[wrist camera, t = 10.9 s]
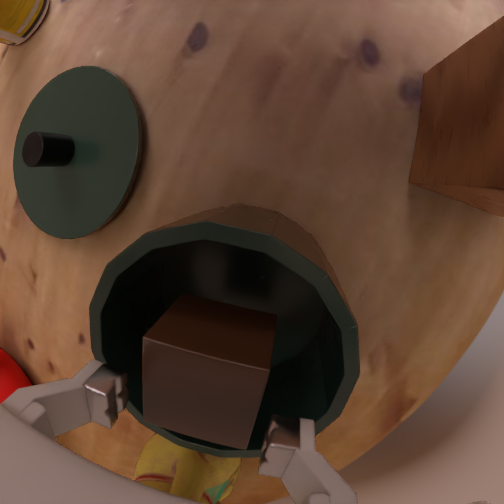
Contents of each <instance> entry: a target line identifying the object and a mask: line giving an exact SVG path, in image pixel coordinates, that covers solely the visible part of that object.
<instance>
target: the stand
mask: <svg viewBox="0 0 504 504" xmlns="http://www.w3.org/2000/svg"><path fill="white" fill-rule="evenodd" d="M409 183H411V184H414V185H417V186H420V187H423V188H426V189H429V190H432V191H434V192H437V193H440V194H443V195H446V196H448V197H451V198H454V199H456V200H459V201H462V202H464V203H467V204H469V205H472V206H474V207H477V208H479V209H482V210H484V211H487V212H489V213H491V214H494V215H497V216H501V217H504V16H503V17H501V18H500V19H498V20H497V21H496V22H494V23H493V24H491V25H490V26H489V27H487V28H486V29H484V30H483V31H481V32H480V33H479V34H477V35H476V36H475V37H473V38H472V39H470V40H469V41H468V42H466V43H465V44H463V45H462V46H461V47H459V48H458V49H457V50H455V51H454V52H453V53H451V54H450V55H449V56H447V57H446V58H444V59H443V60H442V61H440V62H439V63H438V64H436V65H435V66H434V67H432V68H431V69H430V70H428V71H427V72H426V73H425V74H424V76H423V89H422V99H421V108H420V117H419V124H418V132H417V138H416V145H415V151H414V157H413V163H412V168H411V173H410V179H409Z"/></svg>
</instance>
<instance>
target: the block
mask: <svg viewBox="0 0 504 504" xmlns="http://www.w3.org/2000/svg"><path fill="white" fill-rule="evenodd" d="M276 321H277V315H276V314H272V313H267V312H263V311H258V310H254V309H249V308H245V307H241V306H236V305H232V304H228V303H224V302H219V301H215V300H211V299H207V298H203V297H199V296H195V295H191V294H187V293H183V294H182V295H181V296H180V297H179V298H178V299H177V300H176V301H175V302H174V303H173V304H172V306H171V307H170V308H169V309H168V310H167V311H166V312H165V313H164V314H163V315H162V316H161V318H160V319H159V320H158V321H157V322H156V323H155V324H154V325H153V326H152V327H151V329H150V330H149V331H148V332H147V333H146V334H145V335H144V336H143V349H142V385H143V417H144V421H145V422H148V423H151V424H154V425H157V426H160V427H163V428H166V429H169V430H172V431H175V432H178V433H181V434H184V435H188V436H191V437H195V438H198V439H202V440H206V441H209V442H213V443H217V444H221V445H225V446H230V447H234V448H239V449H243V450H246V449H247V446H248V443H249V440H250V437H251V434H252V430H253V427H254V424H255V421H256V418H257V414H258V411H259V408H260V404H261V401H262V398H263V394H264V391H265V387H266V384H267V381H268V377H269V374H270V369H271V361H272V353H273V345H274V337H275V329H276Z"/></svg>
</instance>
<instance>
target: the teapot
mask: <svg viewBox="0 0 504 504" xmlns="http://www.w3.org/2000/svg"><path fill="white" fill-rule="evenodd" d="M28 386H32V384H31V382H30V380H29V379H28V377H27V376H26V374H25V373H24V371H23V370H22V368H21V367H20V366H19V365H18V364H17V363H16V362H15V361H14V360H13V358H12V357H11V356H9V355H8V353H6V352H5V351H4V350H2V349H1V348H0V404H1V403H2V402H3V401H4V400H6V399H7V398H8V397H9V396H10V395H11V394H12V393H14V392H15V391H16V390H17V389H18V388H23V387H28Z"/></svg>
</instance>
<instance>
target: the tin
mask: <svg viewBox="0 0 504 504" xmlns="http://www.w3.org/2000/svg"><path fill="white" fill-rule="evenodd" d="M183 293H187V294H191V295H195V296H199V297H203V298H207V299H211V300H215V301H219V302H224V303H228V304H232V305H236V306H241V307H245V308H249V309H254V310H258V311H263V312H267V313H272V314H276V315H277V321H276V329H275V337H274V345H273V353H272V361H271V369H270V374H269V377H268V381H267V384H266V387H265V391H264V394H263V398H262V401H261V404H260V408H259V411H258V414H257V418H256V421H255V424H254V427H253V430H252V434H251V437H250V440H249V443H248V446H247V449H246V450H243V449H239V448H234V447H230V446H225V445H221V444H217V443H213V442H209V441H206V440H202V439H198V438H195V437H191V436H188V435H184V434H181V433H178V432H175V431H172V430H169V429H166V428H163V427H160V426H157V425H154V424H151V423H148V422H145V421H144V417H143V385H142V349H143V336H144V335H145V334H146V333H147V332H148V331H149V330H150V329H151V327H152V326H153V325H154V324H155V323H156V322H157V321H158V320H159V319H160V318H161V316H162V315H163V314H164V313H165V312H166V311H167V310H168V309H169V308H170V307H171V306H172V304H173V303H174V302H175V301H176V300H177V299H178V298H179V297H180V296H181V295H182V294H183ZM89 316H90V336H91V349H92V352H93V355H94V357H95V359H96V360H98V361H100V362H102V363H104V364H107V365H110V366H112V367H114V368H117V369H119V370H121V371H124V372H126V373H128V374H129V382H128V383H127V384H126V385H127V387H128V388H129V394H130V395H129V400H128V403H127V406H126V407H125V408H126V409H127V410H128V411H129V412H130V413H131V414H132V415H133V416H134V417H135V418H136V419H137V420H138V421H139V422H140V423H141V424H143V425H144V426H146V427H147V428H149V429H151V430H152V431H154V432H155V433H157V434H159V435H160V436H162V437H164V438H165V439H167V440H169V441H171V442H172V443H174V444H176V445H178V446H181V447H184V448H187V449H191V450H194V451H198V452H201V453H205V454H209V455H213V456H217V457H221V458H249V457H261V455H262V452H261V447H262V442H263V438H264V434H265V431H266V429H267V428H268V427H269V420H270V417H271V415H272V414H277V415H283V416H289V417H296V418H304V419H311V420H313V421H314V426H315V436H316V435H318V434H319V433H320V432H321V431H322V430H324V429H325V428H326V427H327V426H329V425H330V424H331V423H332V422H333V421H334V420H336V419H337V418H338V417H339V416H340V415H341V413H342V411H343V409H344V407H345V405H346V403H347V401H348V399H349V397H350V395H351V393H352V391H353V389H354V386H355V384H356V382H357V380H358V378H359V374H360V360H359V339H358V326H357V322H356V320H355V318H354V315H353V313H352V311H351V308H350V306H349V304H348V302H347V299H346V297H345V295H344V293H343V290H342V288H341V286H340V284H339V282H338V279H337V277H336V275H335V273H334V271H333V269H332V267H331V265H330V263H329V262H328V260H327V258H326V257H325V255H324V253H323V251H322V250H321V248H320V247H319V245H318V244H317V242H316V240H315V239H314V237H313V236H312V235H311V234H310V233H308V232H307V231H305V230H304V229H303V228H302V227H300V226H299V225H298V224H297V223H295V222H294V221H292V220H290V219H289V218H287V217H285V216H284V215H282V214H281V213H279V212H276V211H271V210H268V209H264V208H261V207H255V206H247V205H243V204H236V205H231V206H226V207H220V208H217V209H212V210H207V211H202V212H199V213H197V214H194V215H191V216H189V217H186V218H183V219H181V220H178V221H175V222H173V223H170V224H167V225H165V226H162V227H160V228H157V229H155V230H152V231H149V232H147V233H145V234H144V235H142V236H141V237H140V238H139V239H137V240H136V241H135V242H134V243H132V244H131V245H130V246H129V247H127V248H126V249H125V250H124V251H122V252H121V253H120V254H119V255H118V256H116V257H115V258H114V259H113V260H112V261H110V262H109V263H108V265H106V267H105V269H104V272H103V274H102V276H101V279H100V281H99V283H98V286H97V288H96V291H95V293H94V296H93V298H92V301H91V303H90V307H89Z"/></svg>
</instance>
